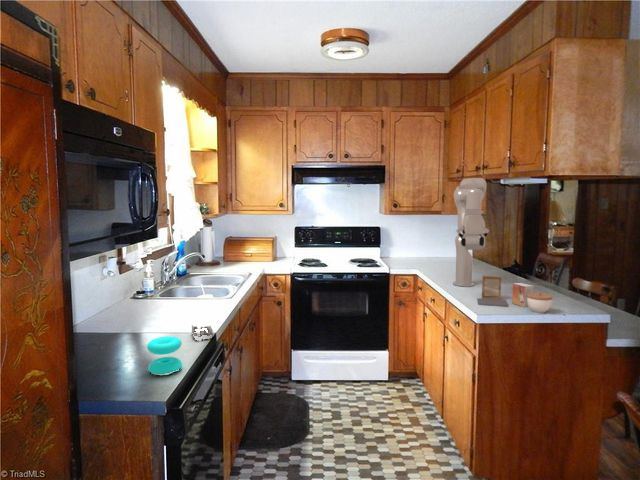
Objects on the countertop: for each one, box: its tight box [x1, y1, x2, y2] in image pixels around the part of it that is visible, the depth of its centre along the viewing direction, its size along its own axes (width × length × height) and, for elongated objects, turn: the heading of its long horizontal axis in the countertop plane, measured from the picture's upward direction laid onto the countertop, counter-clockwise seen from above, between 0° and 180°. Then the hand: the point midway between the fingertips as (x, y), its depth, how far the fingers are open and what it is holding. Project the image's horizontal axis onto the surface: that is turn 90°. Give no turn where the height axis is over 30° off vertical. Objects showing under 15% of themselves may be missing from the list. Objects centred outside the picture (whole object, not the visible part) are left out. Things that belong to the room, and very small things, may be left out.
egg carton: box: [191, 324, 214, 337], centre depth 167 cm, size 11×8×4 cm
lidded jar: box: [527, 291, 553, 314], centre depth 203 cm, size 11×11×9 cm
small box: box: [511, 282, 534, 308], centre depth 215 cm, size 8×6×10 cm
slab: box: [481, 275, 502, 300], centre depth 228 cm, size 5×9×12 cm, turn 71°
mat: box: [477, 297, 509, 308], centre depth 219 cm, size 12×14×1 cm
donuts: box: [146, 335, 183, 374], centre depth 133 cm, size 10×10×10 cm
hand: (472, 245), depth 224 cm, fingers open, 9 cm apart
